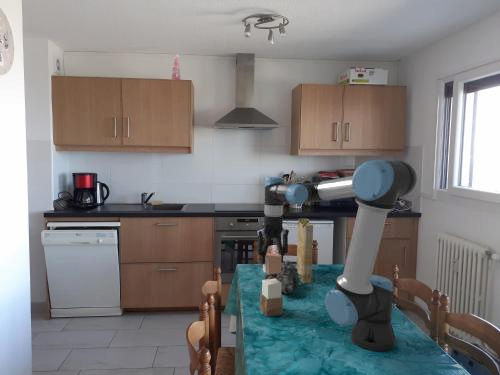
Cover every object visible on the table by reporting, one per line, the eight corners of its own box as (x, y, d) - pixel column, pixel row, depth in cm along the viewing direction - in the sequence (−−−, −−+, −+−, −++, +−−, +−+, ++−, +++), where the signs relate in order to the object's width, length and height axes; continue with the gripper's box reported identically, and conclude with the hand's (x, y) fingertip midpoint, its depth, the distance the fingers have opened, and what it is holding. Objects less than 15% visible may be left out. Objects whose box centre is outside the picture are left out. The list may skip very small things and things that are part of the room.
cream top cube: (281, 297, 154) (281, 283, 153) (267, 299, 151) (268, 284, 151) (275, 292, 159) (275, 278, 159) (262, 294, 157) (262, 280, 156)
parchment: (295, 269, 215) (297, 217, 212) (306, 270, 215) (308, 218, 212) (299, 283, 192) (301, 225, 189) (311, 284, 191) (313, 225, 189)
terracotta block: (280, 273, 153) (281, 256, 153) (268, 274, 151) (268, 257, 151) (275, 269, 158) (275, 252, 158) (263, 270, 156) (263, 253, 156)
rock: (268, 309, 175) (297, 302, 170) (254, 280, 174) (284, 272, 168) (278, 286, 195) (305, 279, 190) (266, 260, 194) (293, 252, 188)
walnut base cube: (282, 314, 154) (282, 297, 153) (266, 316, 151) (267, 299, 151) (275, 307, 160) (275, 291, 160) (260, 309, 158) (260, 293, 157)
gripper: (289, 212, 159) (287, 266, 161) (248, 214, 153) (247, 270, 155) (298, 215, 153) (296, 271, 155) (255, 217, 146) (254, 275, 148)
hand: (271, 270), depth 155 cm, fingers closed on terracotta block, 5 cm apart
